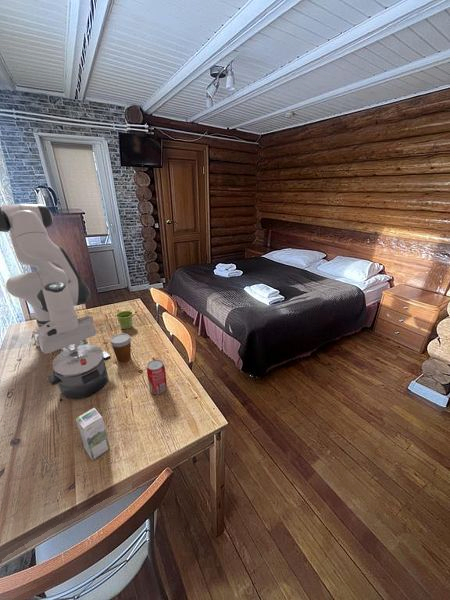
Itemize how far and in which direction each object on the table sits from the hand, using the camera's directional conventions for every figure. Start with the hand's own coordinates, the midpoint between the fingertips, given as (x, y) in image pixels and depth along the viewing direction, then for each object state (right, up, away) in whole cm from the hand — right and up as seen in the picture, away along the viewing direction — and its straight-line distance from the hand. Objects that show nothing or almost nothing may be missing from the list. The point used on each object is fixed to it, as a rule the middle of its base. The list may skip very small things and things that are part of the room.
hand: (73, 352), depth 107 cm
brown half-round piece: (-6, -8, +18) cm, 21 cm away
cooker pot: (+3, -14, +3) cm, 15 cm away
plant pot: (+4, +5, +48) cm, 48 cm away
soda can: (+35, -16, 0) cm, 39 cm away
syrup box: (+22, -27, -24) cm, 42 cm away
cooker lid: (+3, -3, -1) cm, 4 cm away
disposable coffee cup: (+14, -7, +19) cm, 25 cm away
